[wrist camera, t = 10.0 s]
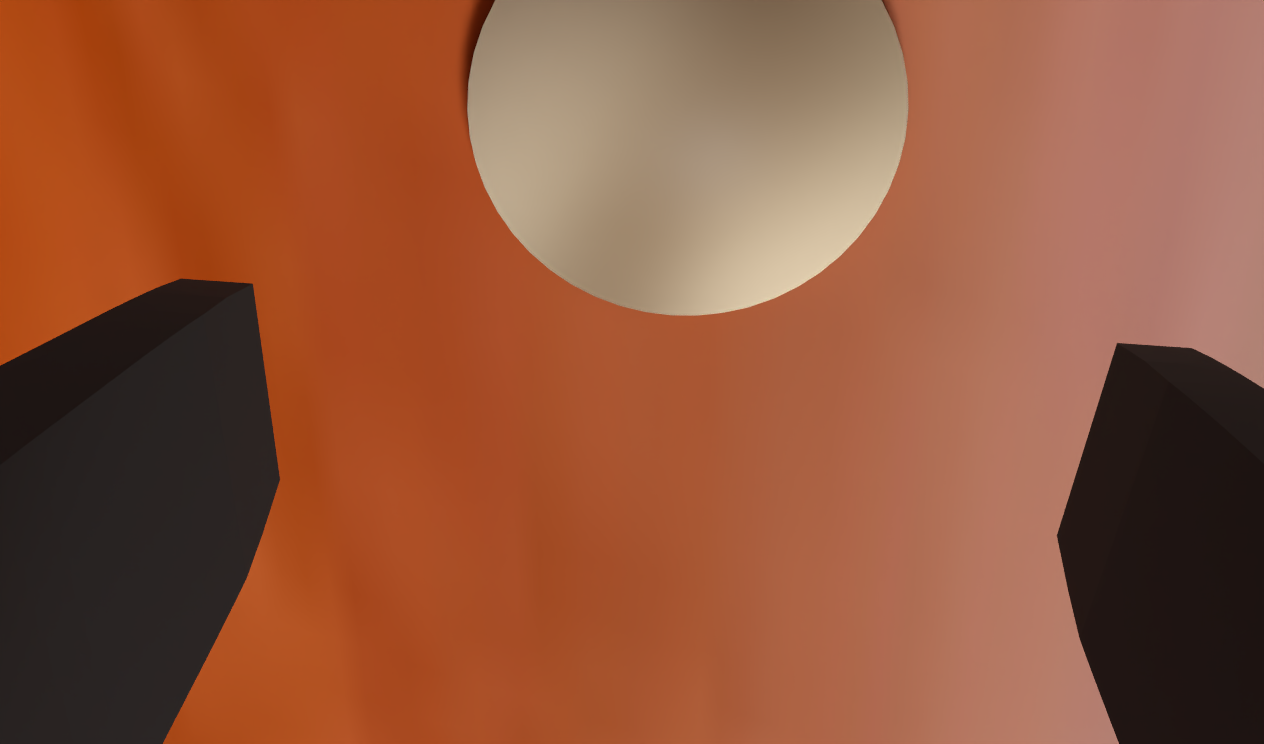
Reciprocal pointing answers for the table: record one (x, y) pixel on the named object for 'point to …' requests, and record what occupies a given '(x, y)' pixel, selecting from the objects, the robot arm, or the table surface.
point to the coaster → (687, 140)
